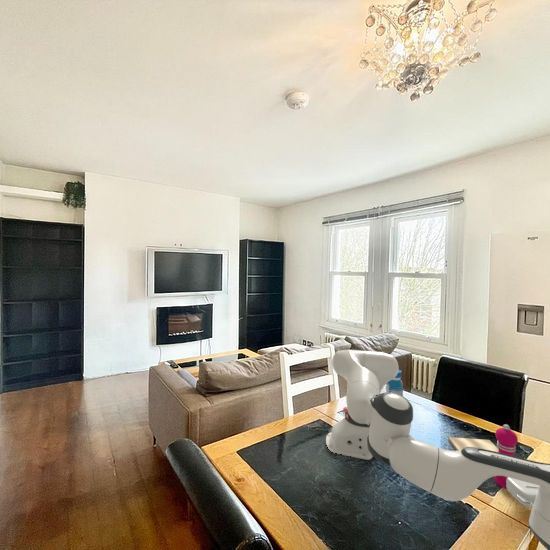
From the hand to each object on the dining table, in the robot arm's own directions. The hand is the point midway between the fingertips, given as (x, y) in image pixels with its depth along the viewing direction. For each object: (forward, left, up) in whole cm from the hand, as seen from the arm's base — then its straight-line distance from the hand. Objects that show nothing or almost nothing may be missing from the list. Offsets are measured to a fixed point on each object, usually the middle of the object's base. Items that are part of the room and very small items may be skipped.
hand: (532, 473), depth 89 cm
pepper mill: (0, +12, -12) cm, 17 cm away
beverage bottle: (-23, +65, -12) cm, 70 cm away
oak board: (0, +29, -12) cm, 31 cm away
